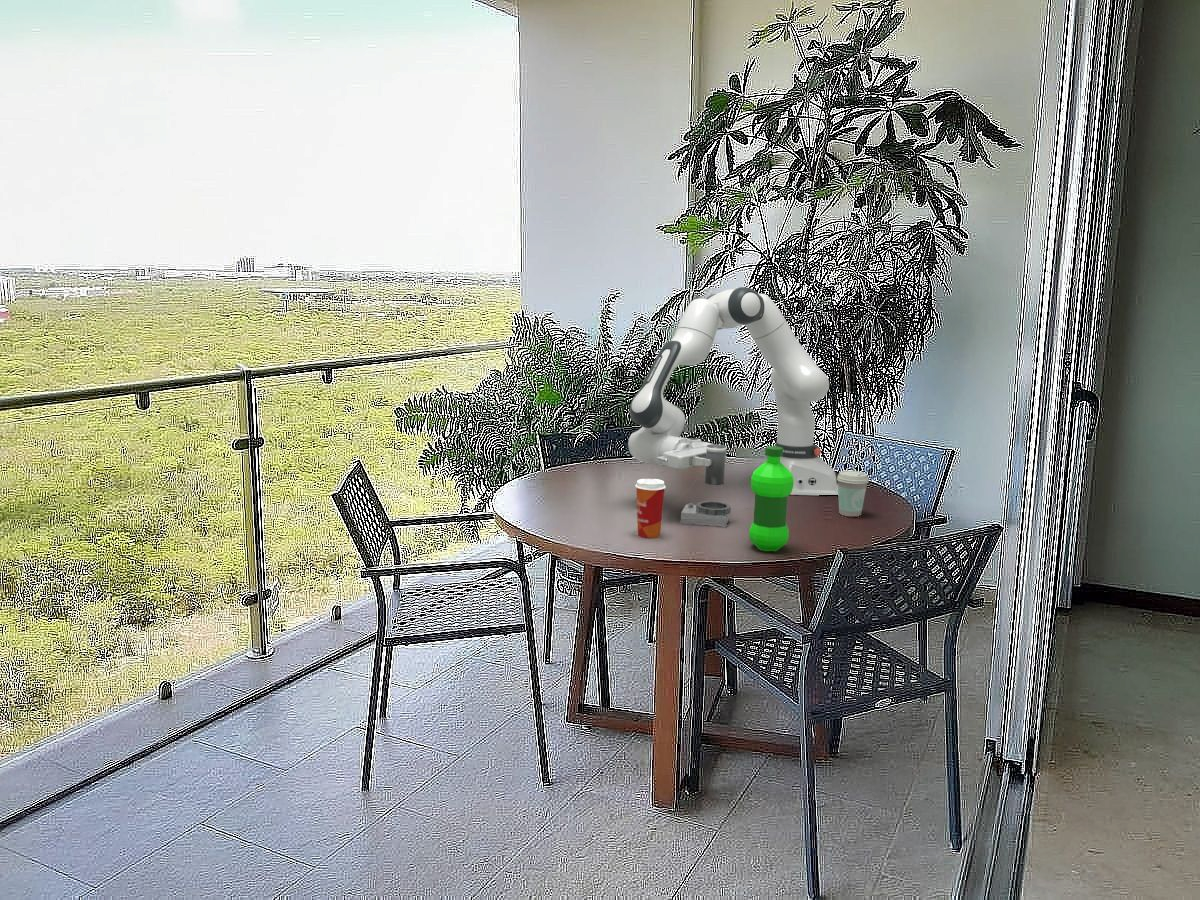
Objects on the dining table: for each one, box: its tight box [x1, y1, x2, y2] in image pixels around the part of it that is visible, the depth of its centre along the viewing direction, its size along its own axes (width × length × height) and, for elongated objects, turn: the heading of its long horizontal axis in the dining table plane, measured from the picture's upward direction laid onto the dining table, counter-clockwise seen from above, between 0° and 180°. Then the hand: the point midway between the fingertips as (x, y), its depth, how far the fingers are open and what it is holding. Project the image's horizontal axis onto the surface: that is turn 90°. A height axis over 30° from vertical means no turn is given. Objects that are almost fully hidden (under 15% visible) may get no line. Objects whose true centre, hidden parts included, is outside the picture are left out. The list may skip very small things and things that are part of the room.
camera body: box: [680, 500, 732, 528], centre depth 249 cm, size 12×9×4 cm
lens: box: [704, 443, 727, 486], centre depth 246 cm, size 5×5×10 cm
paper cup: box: [635, 478, 667, 539], centre depth 234 cm, size 8×8×14 cm
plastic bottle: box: [748, 445, 794, 552], centre depth 224 cm, size 10×10×25 cm
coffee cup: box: [836, 470, 870, 516], centre depth 258 cm, size 9×8×12 cm
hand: (718, 461), depth 245 cm, fingers closed on lens, 5 cm apart
